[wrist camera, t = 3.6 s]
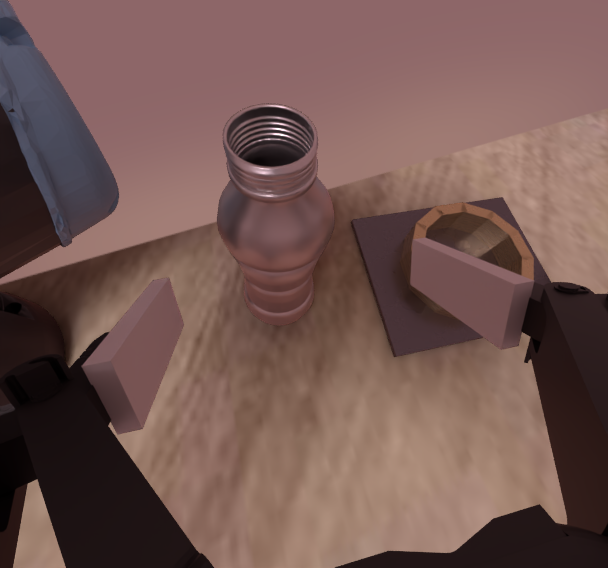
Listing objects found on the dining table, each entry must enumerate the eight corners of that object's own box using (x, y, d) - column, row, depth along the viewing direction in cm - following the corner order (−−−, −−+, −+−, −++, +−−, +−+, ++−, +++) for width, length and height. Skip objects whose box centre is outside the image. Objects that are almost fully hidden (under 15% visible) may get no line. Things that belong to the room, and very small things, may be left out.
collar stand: (394, 357, 28) (408, 351, 25) (350, 222, 34) (358, 203, 30) (566, 319, 30) (600, 309, 27) (499, 200, 36) (520, 180, 33)
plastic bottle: (246, 274, 30) (184, 80, 12) (308, 270, 31) (342, 79, 12) (248, 333, 28) (174, 207, 9) (315, 327, 29) (370, 197, 10)
